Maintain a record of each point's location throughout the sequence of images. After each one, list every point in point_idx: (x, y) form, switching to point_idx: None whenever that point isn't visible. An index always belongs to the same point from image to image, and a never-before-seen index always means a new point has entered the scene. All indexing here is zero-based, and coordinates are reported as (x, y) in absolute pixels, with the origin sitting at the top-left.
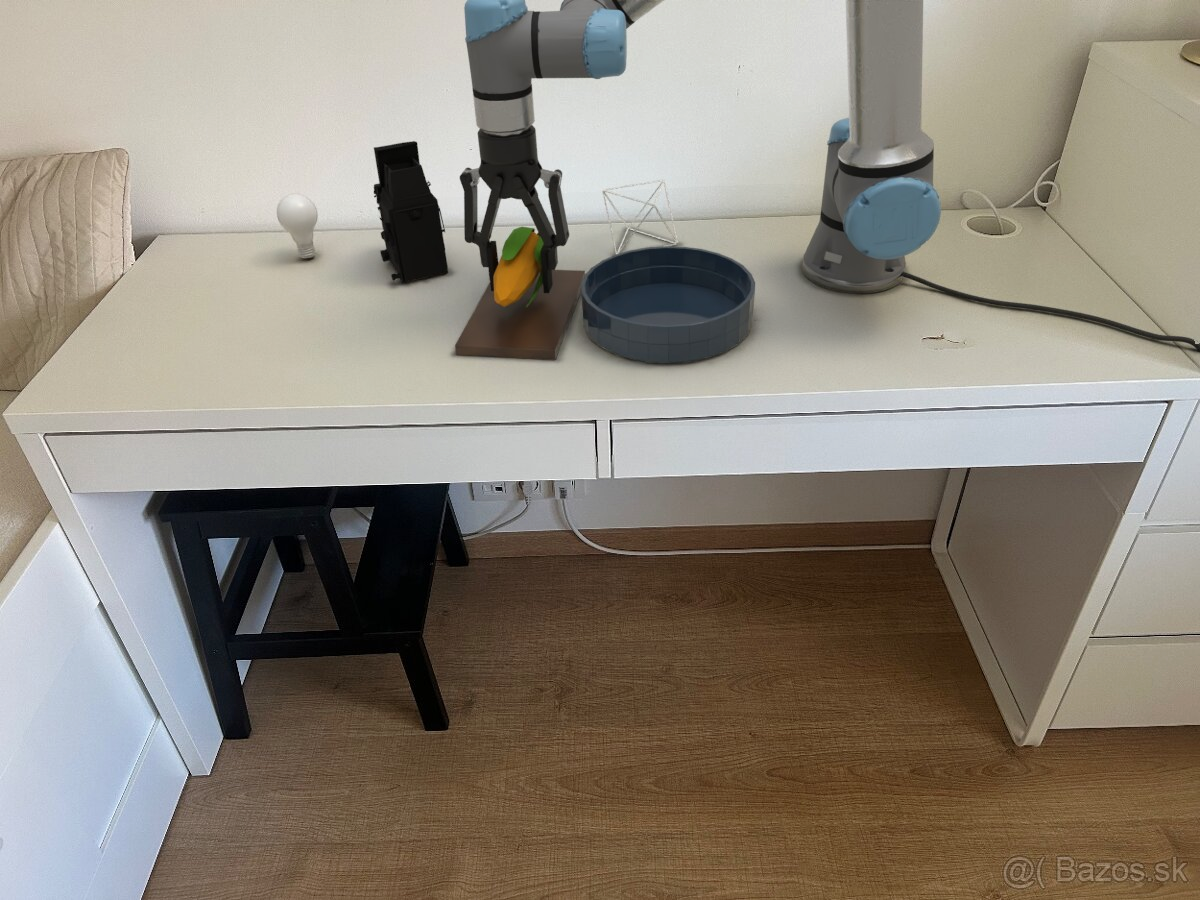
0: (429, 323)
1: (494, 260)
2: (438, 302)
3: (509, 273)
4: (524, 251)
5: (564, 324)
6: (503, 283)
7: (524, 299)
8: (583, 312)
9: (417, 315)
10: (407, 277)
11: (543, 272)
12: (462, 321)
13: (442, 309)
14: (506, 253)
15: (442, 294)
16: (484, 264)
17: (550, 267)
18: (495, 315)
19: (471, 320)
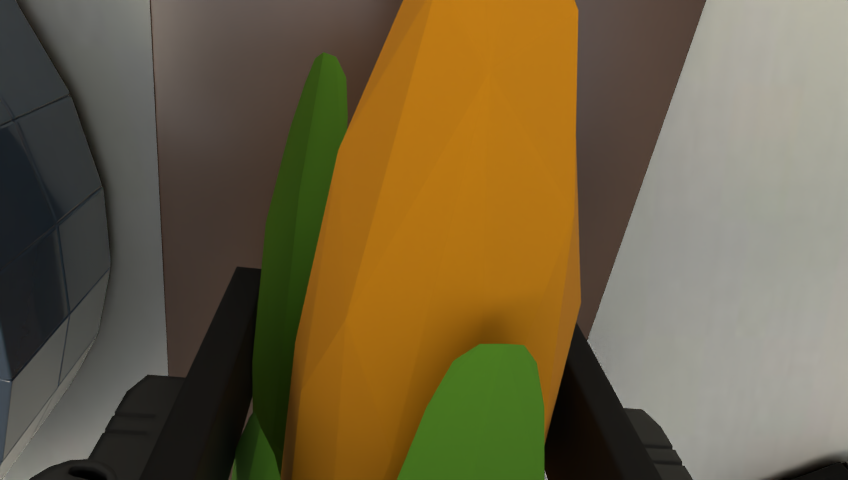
0: (797, 196)
1: (579, 448)
2: (739, 348)
3: (464, 215)
4: None
5: (154, 81)
6: (514, 68)
7: None
8: (5, 103)
9: (833, 259)
10: (844, 477)
11: (229, 349)
12: (660, 207)
13: (730, 300)
14: (506, 446)
15: (717, 398)
16: (639, 423)
17: (175, 389)
18: None
19: (641, 148)
